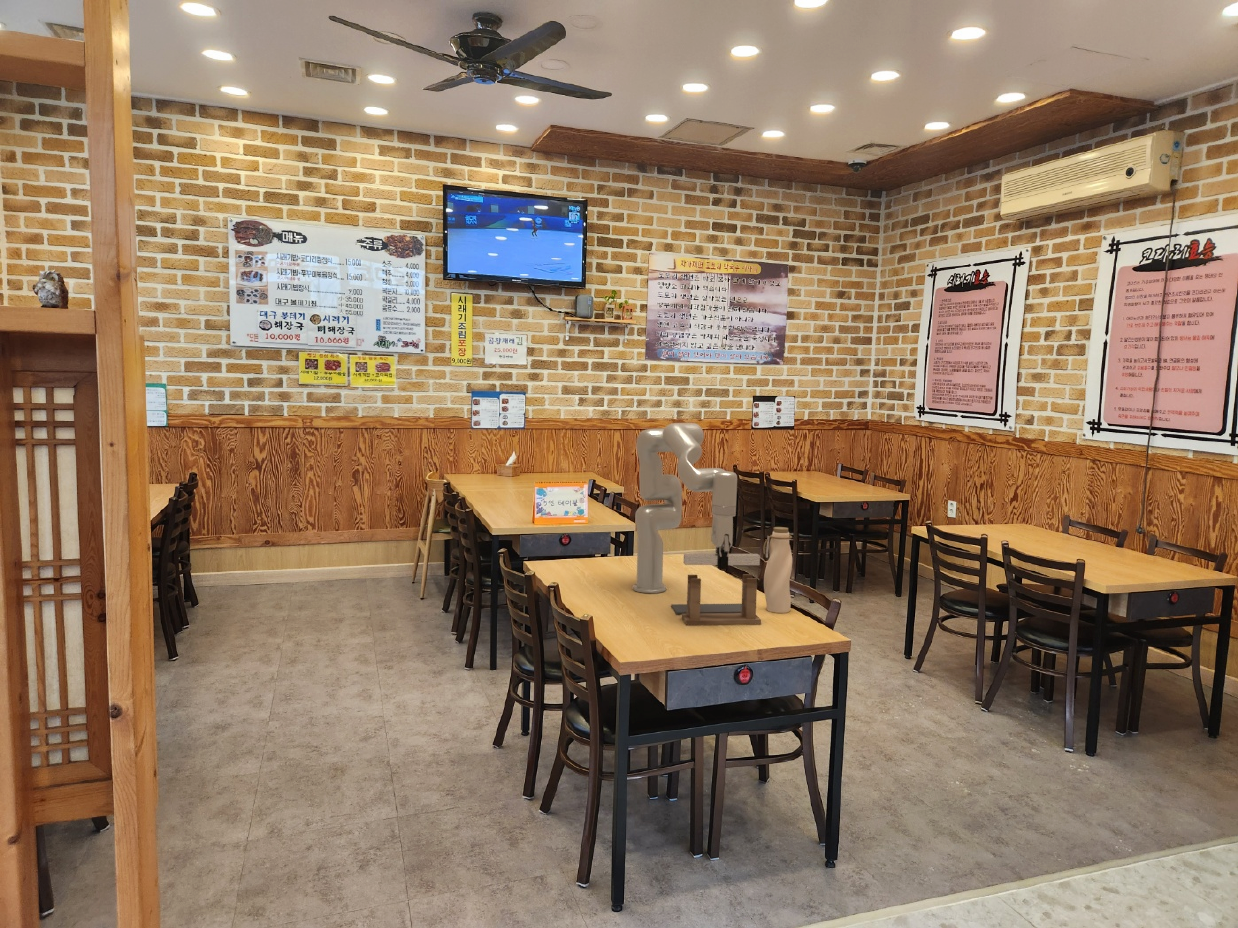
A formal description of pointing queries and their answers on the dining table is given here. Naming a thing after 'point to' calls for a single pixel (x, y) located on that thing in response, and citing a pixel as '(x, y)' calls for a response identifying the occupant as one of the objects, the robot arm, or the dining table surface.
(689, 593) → the walnut rack
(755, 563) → the steel rail
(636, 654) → the dining table surface
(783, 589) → the water bottle
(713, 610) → the black mat
